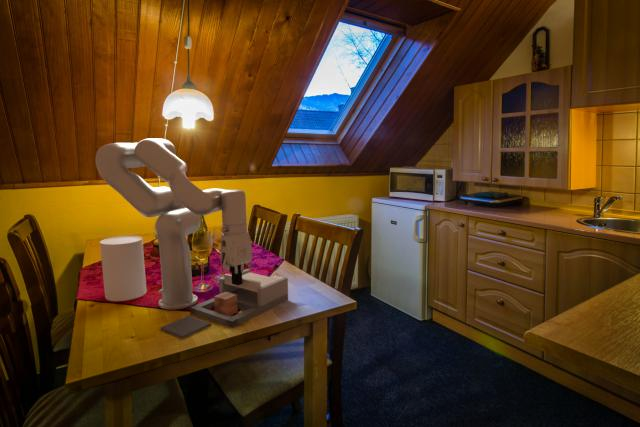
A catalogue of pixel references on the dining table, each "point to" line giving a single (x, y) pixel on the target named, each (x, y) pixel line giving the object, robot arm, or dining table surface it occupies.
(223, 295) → the block
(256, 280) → the sliding lid
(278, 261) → the dining table surface
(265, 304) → the gray box frame
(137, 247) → the canister
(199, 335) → the dining table surface
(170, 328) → the mat
